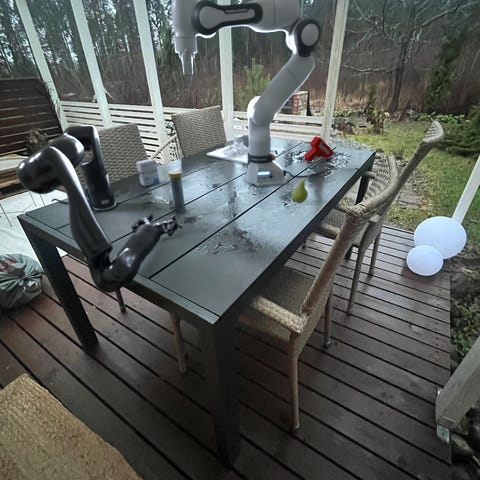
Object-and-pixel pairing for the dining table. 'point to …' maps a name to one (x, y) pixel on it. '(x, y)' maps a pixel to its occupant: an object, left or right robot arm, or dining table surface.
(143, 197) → the dining table surface
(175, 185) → the dark grey cylinder
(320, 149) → the toy gun
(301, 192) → the fruit
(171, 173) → the lid
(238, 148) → the relief map
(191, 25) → the right robot arm
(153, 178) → the ink box
